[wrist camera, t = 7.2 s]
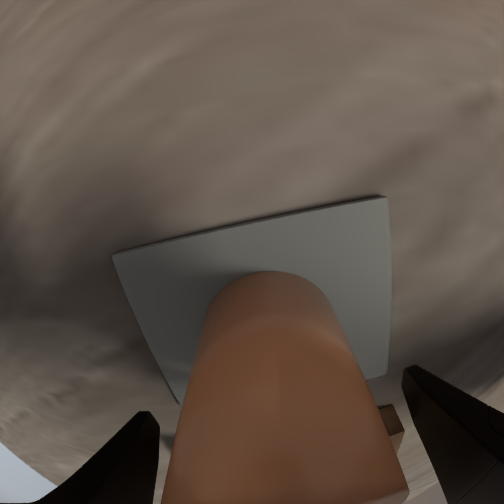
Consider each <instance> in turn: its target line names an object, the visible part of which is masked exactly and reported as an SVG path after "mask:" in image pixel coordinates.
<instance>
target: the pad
mask: <svg viewBox="0 0 504 504" xmlns="http://www.w3.org/2000/svg"><path fill="white" fill-rule="evenodd" d="M111 258H112V260H113V263H114V266H115V269H116V271H117V274H118V277H119V279H120V282H121V284H122V287H123V289H124V292H125V294H126V297H127V299H128V301H129V304H130V306H131V309H132V311H133V313H134V315H135V318H136V320H137V322H138V324H139V327H140V329H141V331H142V333H143V335H144V337H145V340H146V342H147V344H148V346H149V348H150V350H151V352H152V354H153V356H154V358H155V360H156V362H157V364H158V366H159V368H160V369H161V371H162V373H163V375H164V377H165V379H166V381H167V383H168V384H169V386H170V388H171V390H172V391H173V393H174V395H175V397H176V398H177V400H178V402H179V404H180V405H181V407H182V405H183V401H184V397H185V393H186V389H187V385H188V381H189V377H190V373H191V369H192V365H193V361H194V357H195V353H196V349H197V345H198V341H199V337H200V334H201V330H202V326H203V322H204V318H205V315H206V312H207V309H208V307H209V305H210V303H211V301H212V300H213V299H214V297H215V296H216V295H217V294H218V293H219V292H220V291H221V290H222V289H223V288H224V287H225V286H227V285H228V284H230V283H231V282H233V281H235V280H237V279H238V278H241V277H243V276H246V275H249V274H253V273H257V272H264V271H279V272H287V273H291V274H295V275H298V276H300V277H303V278H305V279H307V280H309V281H310V282H312V283H313V284H315V285H316V286H317V287H318V288H319V289H320V290H321V291H322V292H323V293H324V294H325V296H326V297H327V298H328V300H329V302H330V304H331V306H332V308H333V310H334V312H335V314H336V316H337V318H338V321H339V323H340V325H341V327H342V329H343V331H344V333H345V335H346V338H347V340H348V342H349V344H350V346H351V348H352V351H353V353H354V355H355V357H356V359H357V362H358V364H359V366H360V368H361V371H362V373H363V375H364V377H365V380H370V379H373V378H376V377H379V376H382V375H386V374H387V367H388V357H389V345H390V330H391V306H392V260H391V237H390V221H389V209H388V199H387V197H385V196H379V197H373V198H367V199H362V200H356V201H351V202H345V203H340V204H335V205H329V206H324V207H319V208H314V209H309V210H304V211H299V212H294V213H289V214H284V215H279V216H274V217H269V218H264V219H260V220H255V221H250V222H245V223H241V224H236V225H232V226H227V227H223V228H218V229H214V230H209V231H205V232H200V233H196V234H192V235H187V236H183V237H179V238H174V239H170V240H166V241H162V242H158V243H153V244H149V245H145V246H141V247H137V248H133V249H129V250H125V251H121V252H117V253H114V254H113V255H112V256H111Z"/></svg>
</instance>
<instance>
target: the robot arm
mask: <svg viewBox="0 0 504 504" xmlns="http://www.w3.org/2000/svg"><path fill="white" fill-rule="evenodd" d="M402 390H403V393H404V396H405V399H406V402H407V405H408V408H409V411H410V414H411V417H412V420H413V423H414V425H415V427H416V429H417V432H418V434H419V436H420V438H421V440H422V443H423V445H424V447H425V449H426V452H427V454H428V456H429V458H430V461H431V463H432V465H433V468H434V470H435V473H436V475H437V477H438V480H439V482H440V485H441V487H442V490H443V492H444V495H445V497H446V500H447V503H448V504H504V413H502V412H500V411H498V410H496V409H494V408H492V407H491V406H488V405H487V404H485V403H483V402H481V401H480V400H478V399H476V398H474V397H472V396H471V395H469V394H467V393H465V392H463V391H462V390H460V389H458V388H456V387H455V386H453V385H451V384H449V383H447V382H446V381H444V380H442V379H440V378H439V377H437V376H435V375H433V374H432V373H430V372H428V371H426V370H425V369H423V368H421V367H419V366H418V365H411V366H408V367H406V368H405V369H404V372H403V378H402ZM159 439H160V426H159V424H158V422H157V421H156V420H155V418H154V417H153V415H152V414H151V413H150V412H149V411H139V412H138V413H137V414H136V415H135V416H134V417H132V418H131V419H130V420H129V421H128V422H127V423H126V424H125V425H124V426H123V427H122V428H121V429H120V430H119V431H118V432H117V433H116V434H115V435H114V436H113V437H112V438H111V439H110V440H109V441H108V442H107V443H106V444H105V445H104V446H103V447H102V448H101V449H100V450H99V451H98V452H97V453H95V454H94V455H93V456H92V457H91V458H90V459H89V460H88V461H87V462H86V463H85V464H84V465H83V466H82V468H79V469H78V470H77V471H76V472H75V473H74V474H73V475H72V476H71V477H70V478H68V479H67V480H66V481H65V482H63V483H62V484H61V485H59V486H58V487H57V488H56V489H54V490H53V491H51V492H50V493H48V494H47V495H46V496H44V497H43V498H41V499H40V500H37V501H35V502H31V503H0V504H153V497H154V490H155V483H156V476H157V470H158V462H159Z"/></svg>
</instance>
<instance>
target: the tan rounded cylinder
mask: <svg viewBox="0 0 504 504" xmlns="http://www.w3.org/2000/svg"><path fill="white" fill-rule="evenodd" d="M408 495H409V488H408V485H407V482H406V479H405V477H404V474H403V471H402V469H401V466H400V463H399V461H398V458H397V455H396V453H395V450H394V447H393V445H392V442H391V440H390V437H389V435H388V432H387V430H386V427H385V425H384V422H383V420H382V417H381V415H380V413H379V410H378V408H377V405H376V403H375V401H374V398H373V396H372V394H371V391H370V389H369V387H368V384H367V382H366V380H365V377H364V375H363V373H362V371H361V368H360V366H359V364H358V362H357V359H356V357H355V355H354V353H353V351H352V348H351V346H350V344H349V342H348V340H347V338H346V335H345V333H344V331H343V329H342V327H341V325H340V323H339V321H338V318H337V316H336V314H335V312H334V310H333V308H332V306H331V304H330V302H329V300H328V298H327V297H326V296H325V294H324V293H323V292H322V291H321V290H320V289H319V288H318V287H317V286H316V285H315V284H313V283H312V282H310V281H309V280H307V279H305V278H303V277H300V276H298V275H295V274H291V273H287V272H279V271H264V272H257V273H253V274H249V275H246V276H243V277H241V278H238V279H237V280H235V281H233V282H231V283H230V284H228V285H227V286H225V287H224V288H223V289H222V290H221V291H220V292H219V293H218V294H217V295H216V296H215V297H214V299H213V300H212V301H211V303H210V305H209V307H208V309H207V312H206V315H205V318H204V322H203V326H202V330H201V334H200V337H199V341H198V345H197V349H196V353H195V357H194V361H193V365H192V369H191V373H190V377H189V381H188V385H187V389H186V393H185V397H184V401H183V405H182V410H181V414H180V418H179V422H178V427H177V431H176V435H175V440H174V444H173V448H172V453H171V457H170V462H169V467H168V471H167V476H166V481H165V485H164V490H163V495H162V500H161V504H402V503H403V502H404V501H405V500H406V498H407V497H408Z"/></svg>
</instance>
